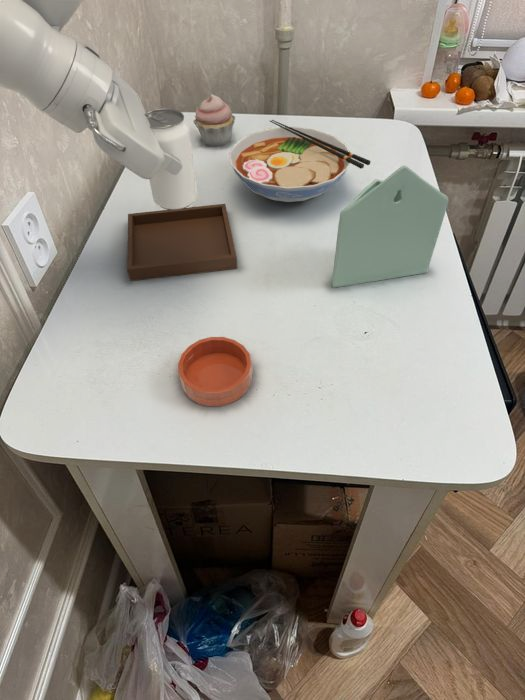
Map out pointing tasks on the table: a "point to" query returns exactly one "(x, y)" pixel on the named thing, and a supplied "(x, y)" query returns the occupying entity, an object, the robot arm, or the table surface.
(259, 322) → the table surface
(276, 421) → the table surface
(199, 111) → the cupcake
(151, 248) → the tray
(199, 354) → the bowl
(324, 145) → the ramen bowl
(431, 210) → the planter
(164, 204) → the can
